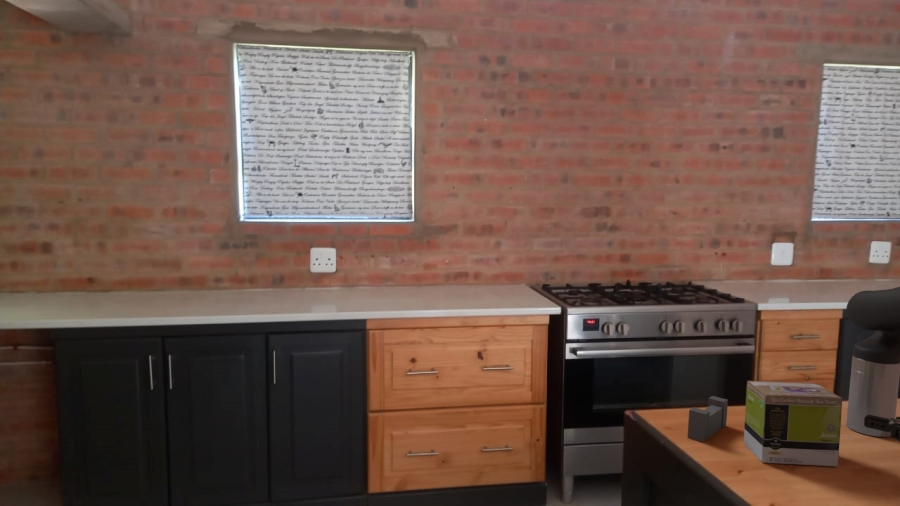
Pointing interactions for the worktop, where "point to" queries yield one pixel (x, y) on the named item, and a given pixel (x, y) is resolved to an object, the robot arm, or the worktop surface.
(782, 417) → the tea box
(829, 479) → the worktop surface
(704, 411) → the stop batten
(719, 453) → the worktop surface
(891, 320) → the robot arm
